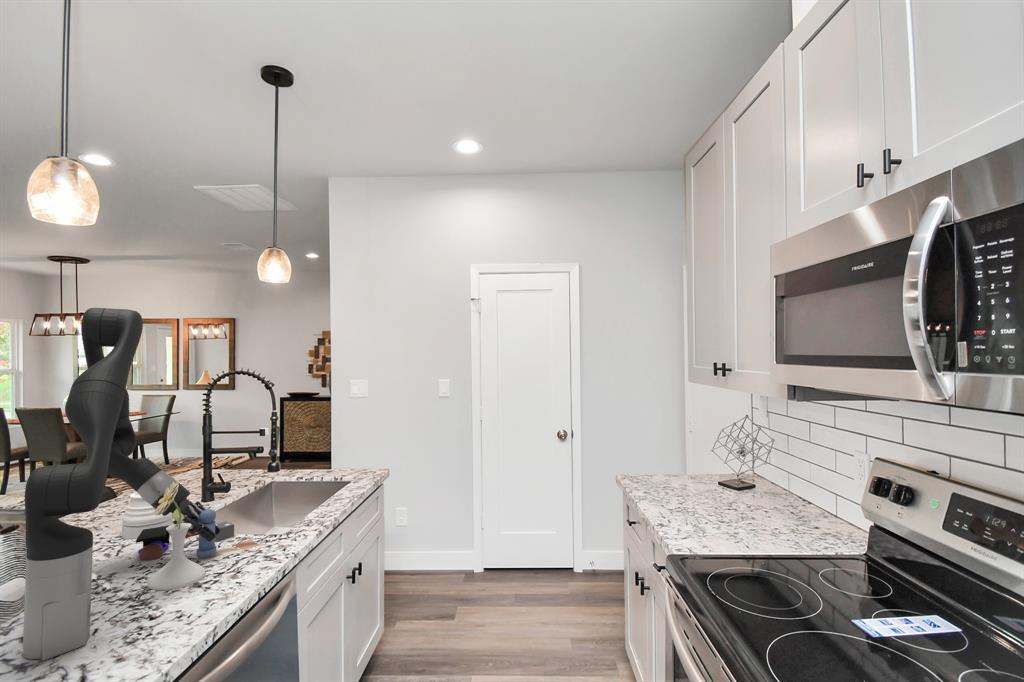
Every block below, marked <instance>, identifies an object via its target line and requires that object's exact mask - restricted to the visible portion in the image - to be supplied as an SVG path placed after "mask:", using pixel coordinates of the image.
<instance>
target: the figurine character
mask: <svg viewBox="0 0 1024 682" xmlns="http://www.w3.org/2000/svg"><path fill="white" fill-rule="evenodd" d="M167 527H169V525H168V526H162V527H156V528H150V529H144V530H142V532H141V533H140V535H139V536H138V538H137V539H135V544H136V543H138V544H139V543H142V548H140V549H138V551H137V553H139V554H138V555H139V559H140V561H142V562H143V561H145V562H146V561H152V560H156V559H159V558H161V557H162V556H163V555H164V552H165V551H166V549H169V547H170V545H169V544H170V537H171V535H170V533H169V532H168V531H167V530H166V528H167Z"/></svg>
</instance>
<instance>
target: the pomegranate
mask: <svg viewBox="0 0 1024 682" xmlns="http://www.w3.org/2000/svg"><path fill="white" fill-rule="evenodd" d="M196 536H199V533H197V534H196V533H194V534H191V533H189V532H187V533H186V536H185V539H188V538H191V537H196Z"/></svg>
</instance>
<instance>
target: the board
mask: <svg viewBox="0 0 1024 682" xmlns="http://www.w3.org/2000/svg"><path fill="white" fill-rule="evenodd" d="M258 546H261V544H260V543H258V542H255V541H253V540H250V539H248V540H244V541H241V542H237V543H234V544H232V545H227V546H224V547H221V548H216V553H215V554H214V555H211V556H207V557H197V555H195V556H191V558H192V559H194V560H196V561H199V562H201V563H202V564H204V563H208V562H211V561H215V560H217V559H220V558H223V557H227V556H230V555H233V554H236V553H240V552H242V551H246V550H249V549H253V548H256V547H258Z"/></svg>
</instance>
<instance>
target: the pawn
mask: <svg viewBox="0 0 1024 682" xmlns="http://www.w3.org/2000/svg"><path fill="white" fill-rule="evenodd" d="M205 509H206V510H204V511H202V512H201V514H200V515H199V516H200V517H201V519H200V520H201V521H202V522H203V523H204V524H205V526H207V527H208V528H209V529H211V530H212V531H213V532H214V533H215V524H216V521H215V520H216V518H217V513H216V511H215V510H213V509H211V508H205ZM215 543H216V542H215V538H214V539H213V540H212V541H210V542H208V541H207V540H206V539H205V538H203V537H202V536H201V535H200V534H199V535H198V548H197V549H196V556H197V557H207V556H211V555H214V554H217V553H216V550H217V546H216V544H215Z"/></svg>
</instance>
